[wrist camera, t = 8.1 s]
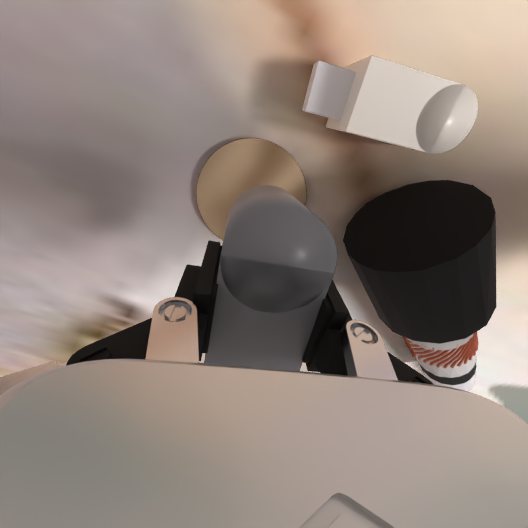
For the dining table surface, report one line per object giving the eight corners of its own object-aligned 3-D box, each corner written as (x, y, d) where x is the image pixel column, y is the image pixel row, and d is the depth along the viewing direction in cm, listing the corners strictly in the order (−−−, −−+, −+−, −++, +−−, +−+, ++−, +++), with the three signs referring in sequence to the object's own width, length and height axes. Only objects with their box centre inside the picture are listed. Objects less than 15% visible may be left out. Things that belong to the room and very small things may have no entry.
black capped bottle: (412, 352, 44) (417, 416, 38) (348, 202, 25) (337, 280, 19) (487, 356, 38) (507, 431, 32) (476, 164, 20) (517, 258, 14)
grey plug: (233, 177, 12) (230, 194, 8) (312, 194, 13) (353, 218, 8) (206, 353, 16) (193, 431, 12) (266, 359, 17) (276, 435, 12)
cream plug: (439, 97, 20) (491, 93, 16) (414, 150, 22) (454, 159, 18) (310, 57, 18) (330, 42, 14) (295, 119, 20) (308, 121, 16)
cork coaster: (319, 153, 22) (321, 154, 21) (289, 252, 27) (290, 255, 26) (203, 125, 20) (201, 125, 20) (193, 236, 25) (192, 239, 25)
